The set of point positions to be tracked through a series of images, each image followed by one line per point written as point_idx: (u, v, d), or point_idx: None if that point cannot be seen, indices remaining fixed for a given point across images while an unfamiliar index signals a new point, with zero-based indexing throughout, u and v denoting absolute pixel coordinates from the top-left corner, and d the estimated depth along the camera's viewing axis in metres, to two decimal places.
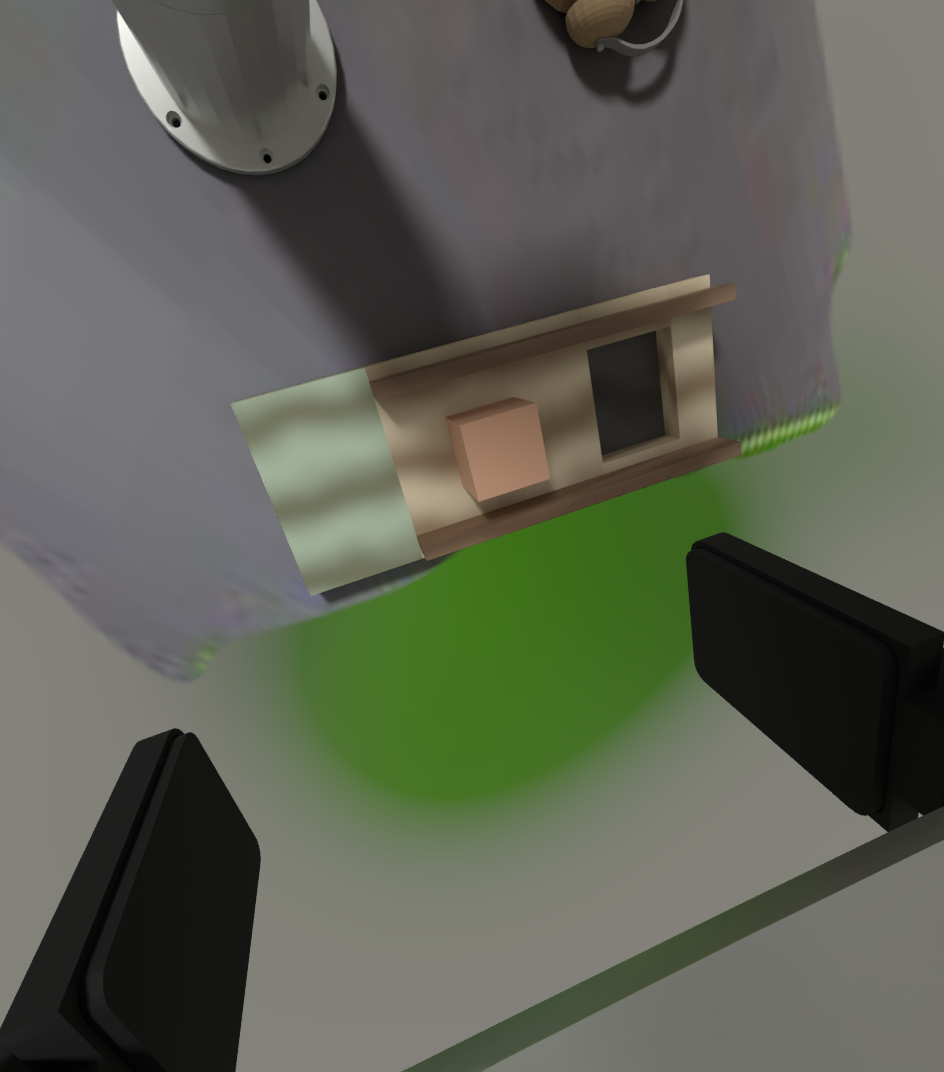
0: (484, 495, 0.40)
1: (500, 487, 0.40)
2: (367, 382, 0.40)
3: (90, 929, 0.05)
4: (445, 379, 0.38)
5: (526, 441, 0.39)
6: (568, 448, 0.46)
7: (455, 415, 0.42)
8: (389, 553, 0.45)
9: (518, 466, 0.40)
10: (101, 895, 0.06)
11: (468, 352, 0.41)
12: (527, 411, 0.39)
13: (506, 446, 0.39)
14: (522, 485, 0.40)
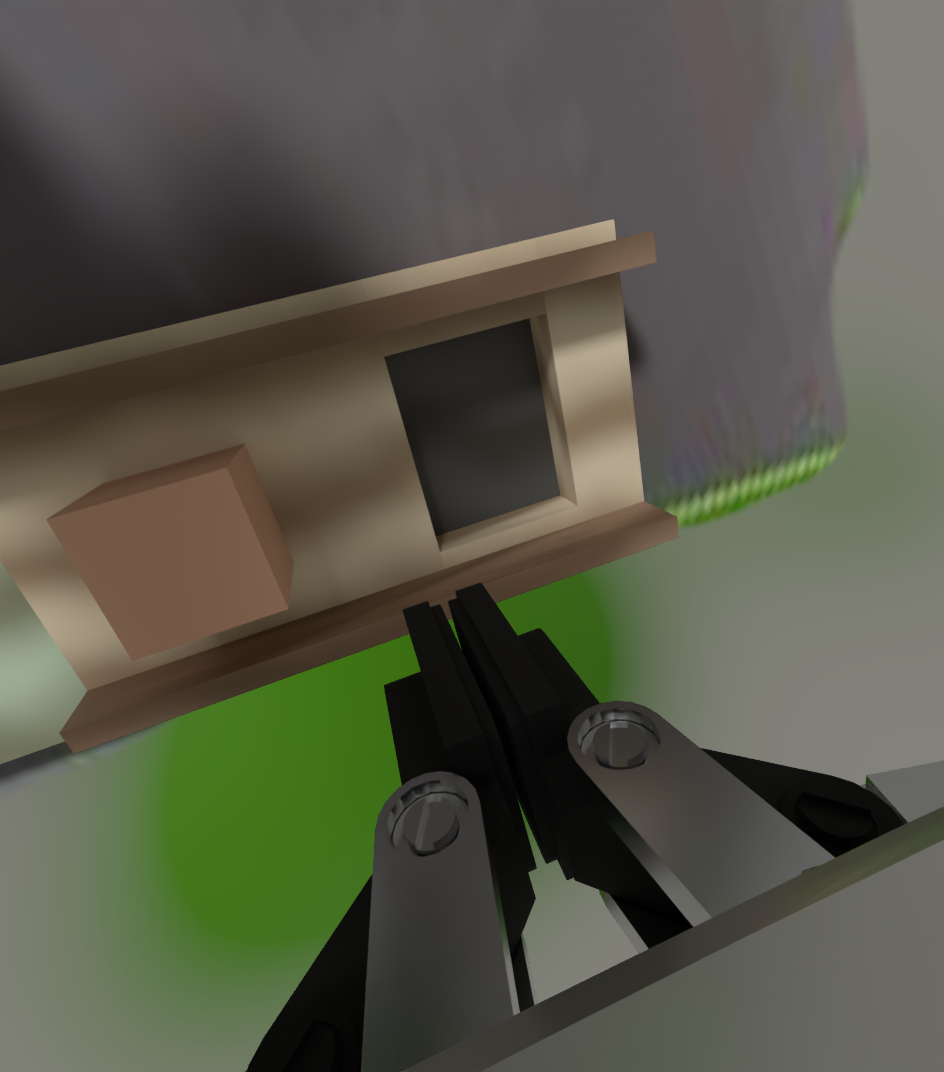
0: (143, 649, 0.20)
1: (178, 632, 0.20)
2: None
3: (468, 697, 0.07)
4: (30, 419, 0.18)
5: (219, 543, 0.19)
6: (371, 530, 0.26)
7: (115, 482, 0.22)
8: (36, 722, 0.25)
9: (211, 590, 0.20)
10: (458, 683, 0.07)
11: None
12: (209, 486, 0.19)
13: (174, 555, 0.19)
14: (227, 625, 0.20)
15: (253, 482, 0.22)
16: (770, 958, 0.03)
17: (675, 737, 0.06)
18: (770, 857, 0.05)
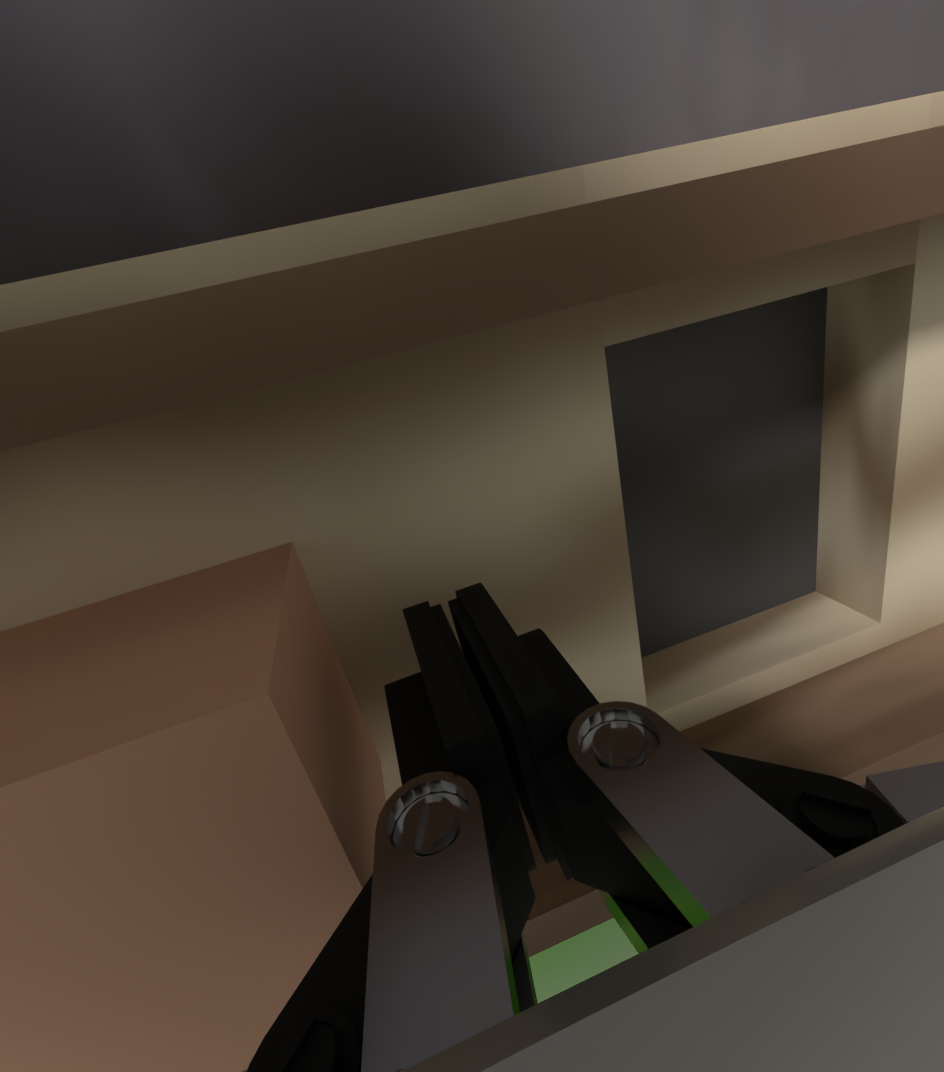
0: None
1: None
2: None
3: (468, 697, 0.07)
4: None
5: (240, 888, 0.07)
6: None
7: None
8: None
9: (215, 996, 0.07)
10: (458, 683, 0.07)
11: None
12: (213, 751, 0.06)
13: (104, 938, 0.06)
14: None
15: (315, 640, 0.10)
16: (769, 958, 0.03)
17: (675, 737, 0.06)
18: (770, 857, 0.05)
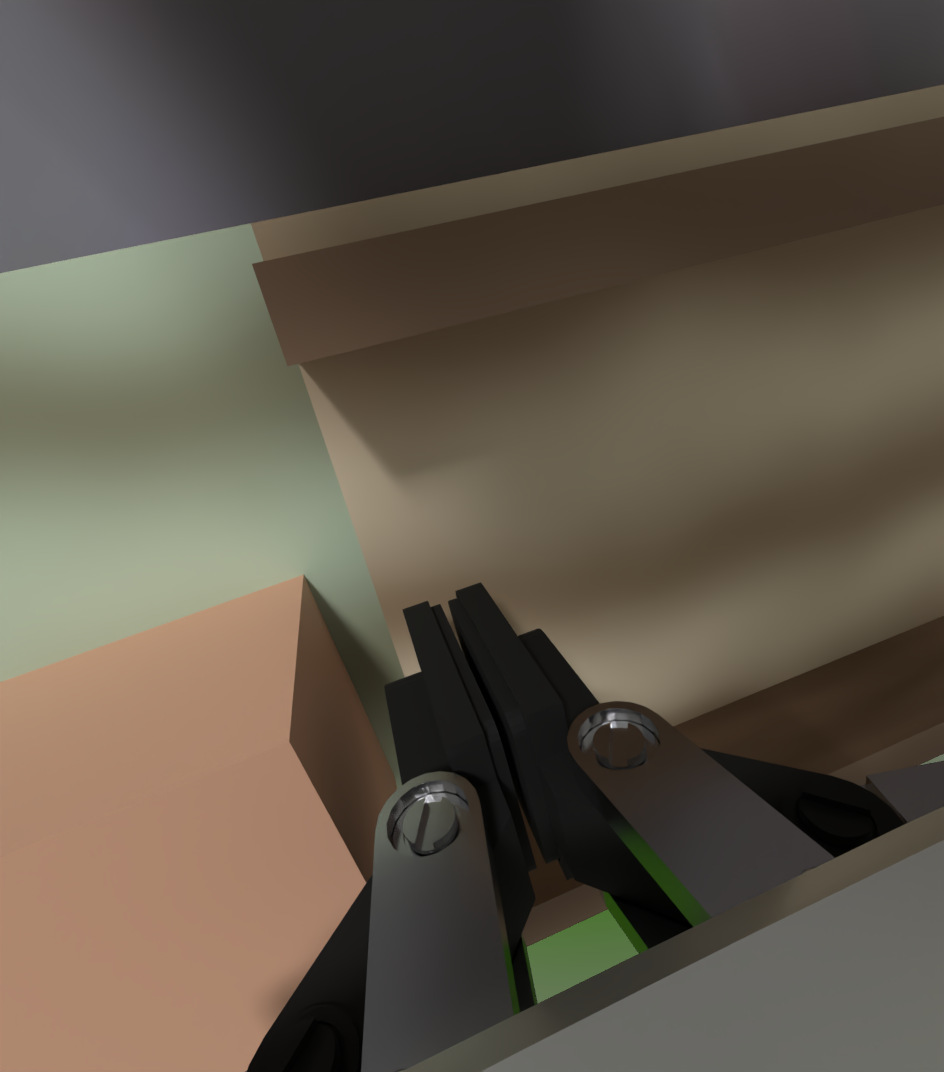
0: None
1: None
2: None
3: (468, 697, 0.07)
4: (645, 268, 0.07)
5: (269, 918, 0.07)
6: (911, 540, 0.15)
7: (19, 688, 0.09)
8: None
9: (249, 1017, 0.08)
10: (458, 683, 0.07)
11: None
12: (240, 794, 0.06)
13: (145, 969, 0.07)
14: None
15: (329, 671, 0.10)
16: (770, 958, 0.03)
17: (675, 737, 0.06)
18: (770, 857, 0.05)
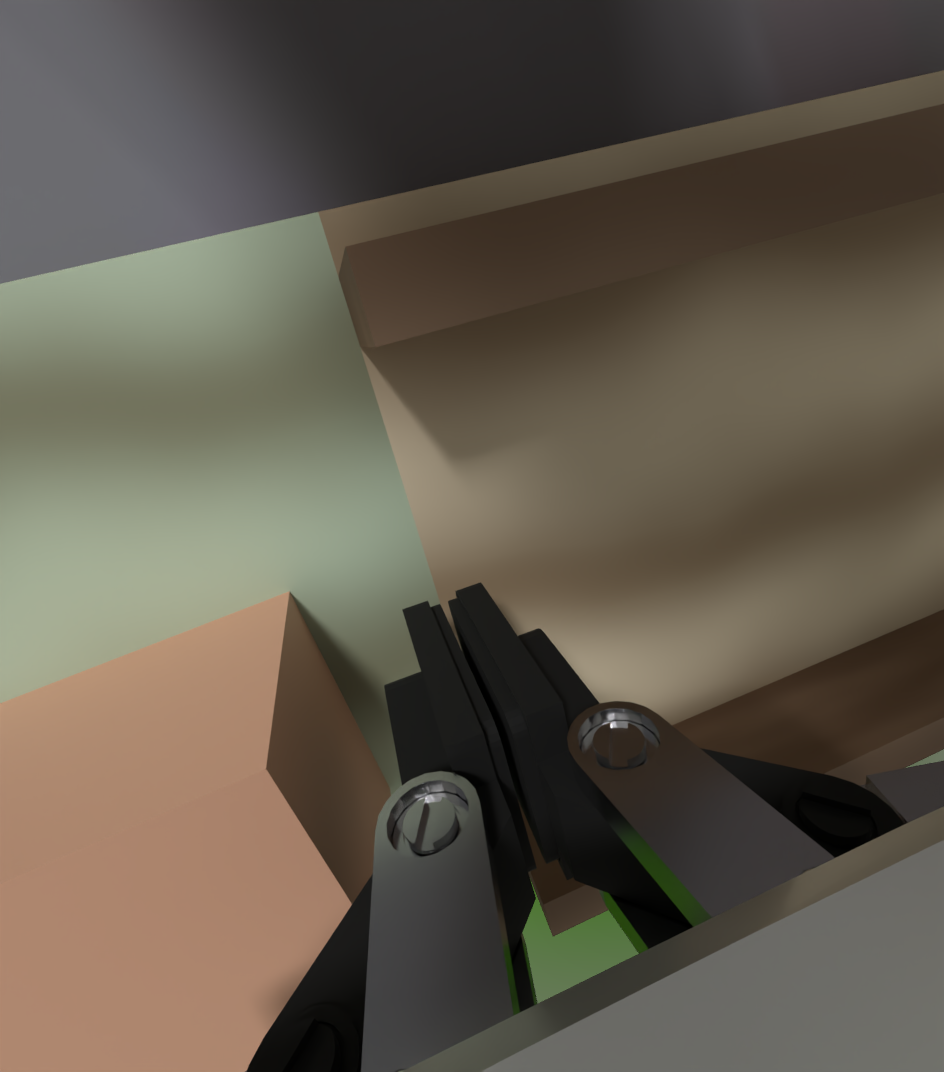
0: None
1: None
2: (332, 282, 0.09)
3: (468, 697, 0.07)
4: (715, 245, 0.08)
5: (254, 942, 0.07)
6: None
7: (8, 713, 0.10)
8: None
9: (240, 1037, 0.08)
10: (458, 683, 0.07)
11: None
12: (220, 823, 0.06)
13: (133, 995, 0.07)
14: None
15: (316, 688, 0.10)
16: (770, 958, 0.03)
17: (675, 737, 0.06)
18: (770, 857, 0.05)
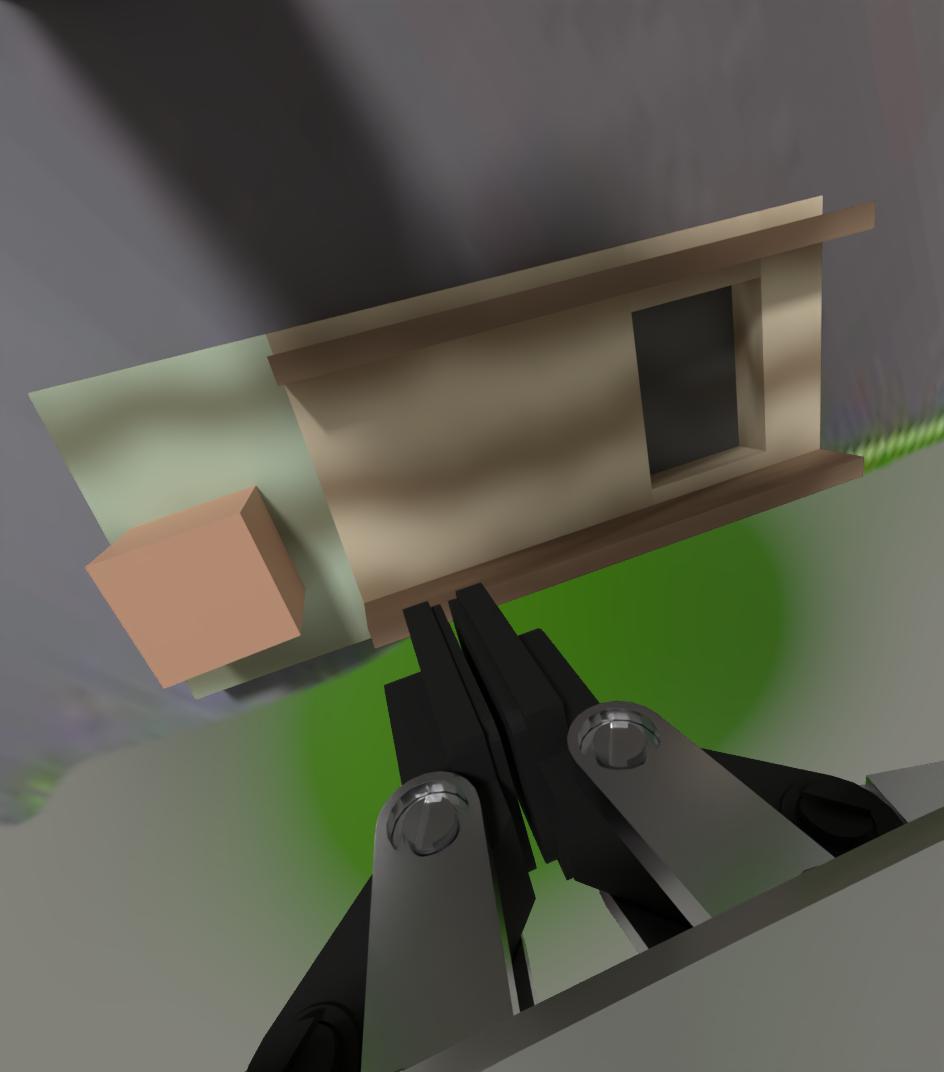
0: (172, 677, 0.22)
1: (203, 660, 0.22)
2: None
3: (468, 697, 0.07)
4: (398, 351, 0.22)
5: (236, 580, 0.22)
6: (600, 467, 0.30)
7: (142, 526, 0.24)
8: (321, 630, 0.28)
9: (231, 622, 0.22)
10: (458, 683, 0.07)
11: (441, 311, 0.25)
12: (225, 530, 0.21)
13: (196, 592, 0.21)
14: (246, 652, 0.23)
15: (265, 520, 0.24)
16: (770, 958, 0.03)
17: (675, 737, 0.06)
18: (770, 857, 0.05)
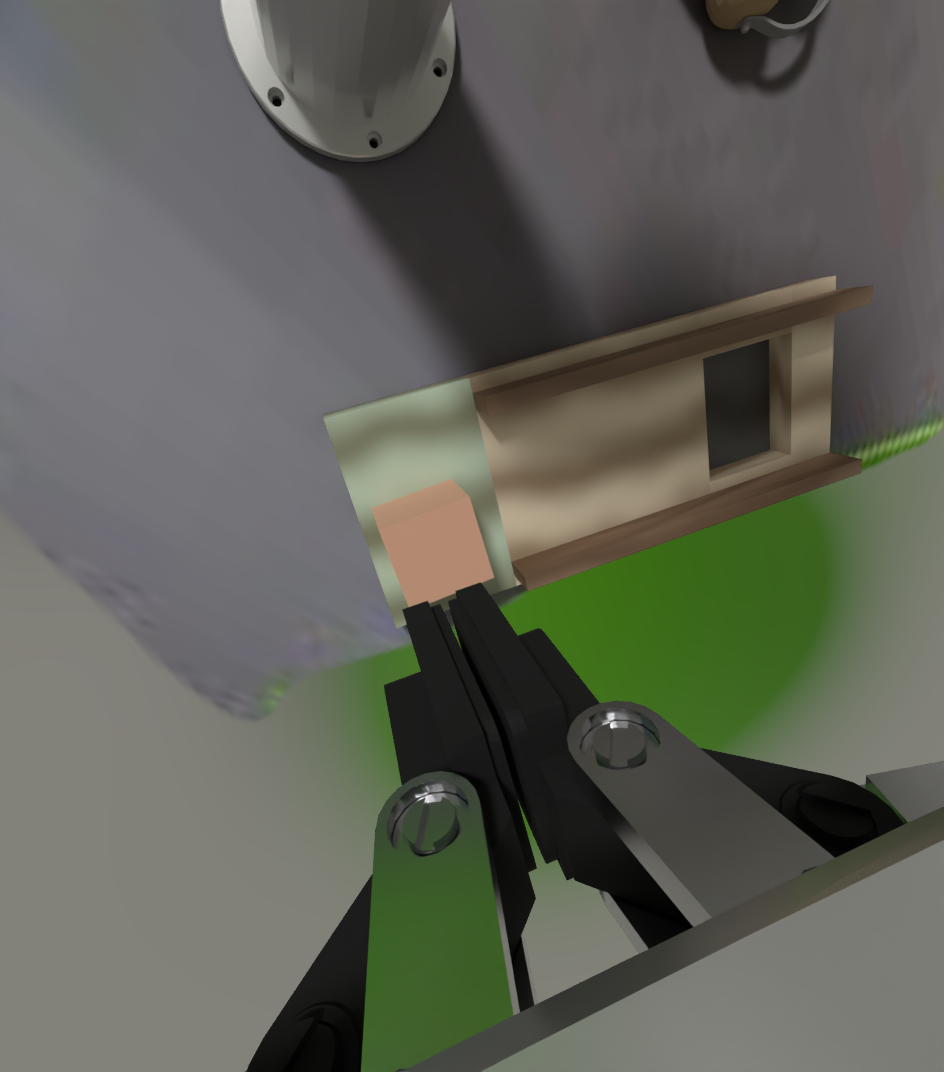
0: (416, 603, 0.34)
1: (435, 593, 0.34)
2: (470, 394, 0.36)
3: (468, 697, 0.07)
4: (562, 391, 0.34)
5: (461, 540, 0.34)
6: (675, 466, 0.42)
7: (382, 506, 0.36)
8: None
9: (455, 567, 0.34)
10: (458, 683, 0.07)
11: (579, 361, 0.37)
12: (460, 507, 0.33)
13: (438, 547, 0.33)
14: (461, 588, 0.35)
15: None
16: (770, 958, 0.03)
17: (675, 737, 0.06)
18: (770, 857, 0.05)
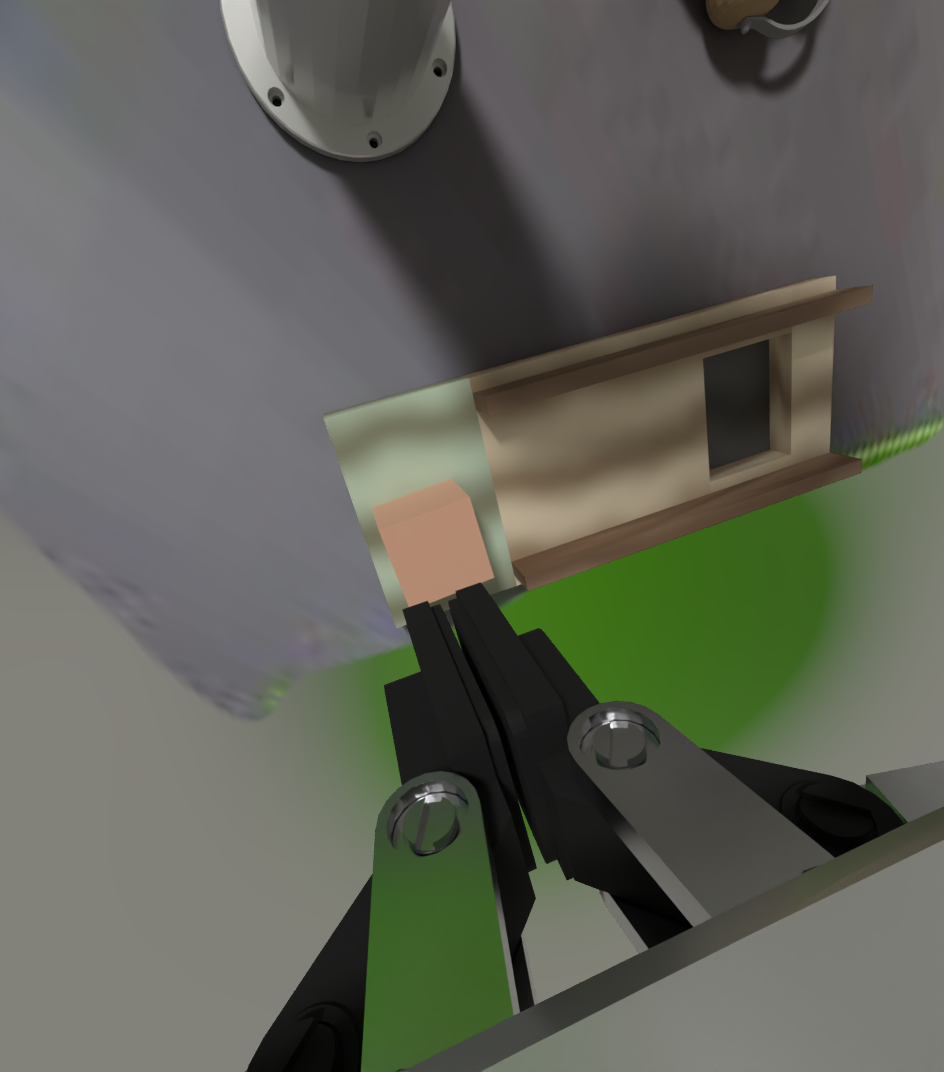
0: (416, 603, 0.34)
1: (435, 593, 0.34)
2: (470, 394, 0.36)
3: (468, 697, 0.07)
4: (562, 391, 0.34)
5: (461, 540, 0.34)
6: (675, 466, 0.42)
7: (382, 506, 0.36)
8: None
9: (455, 567, 0.34)
10: (457, 683, 0.07)
11: (579, 361, 0.37)
12: (460, 507, 0.33)
13: (438, 547, 0.33)
14: (461, 588, 0.35)
15: None
16: (770, 958, 0.03)
17: (675, 737, 0.06)
18: (770, 857, 0.05)
